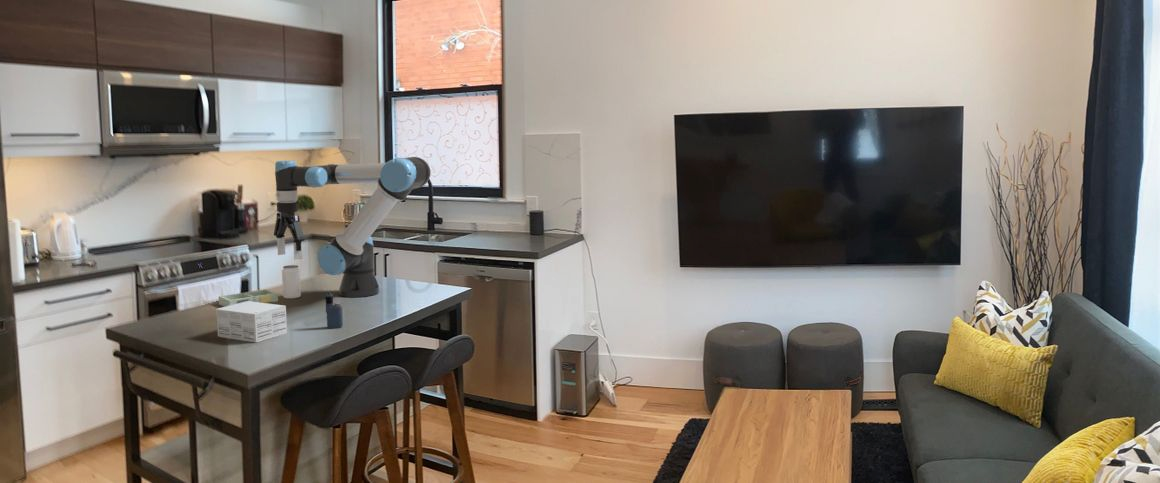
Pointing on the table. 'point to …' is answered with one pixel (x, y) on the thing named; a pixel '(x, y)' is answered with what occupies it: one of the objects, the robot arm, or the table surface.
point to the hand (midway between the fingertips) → (289, 256)
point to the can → (291, 282)
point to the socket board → (249, 297)
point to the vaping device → (333, 312)
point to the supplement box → (251, 321)
